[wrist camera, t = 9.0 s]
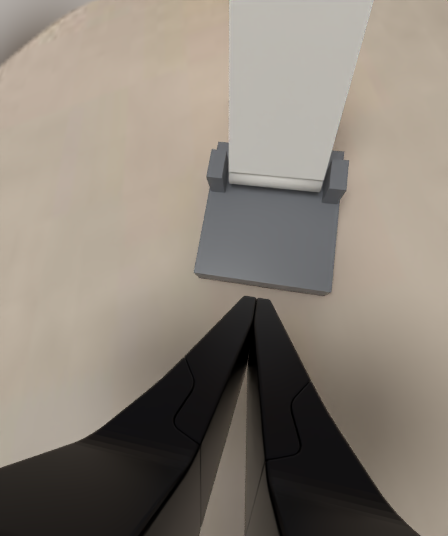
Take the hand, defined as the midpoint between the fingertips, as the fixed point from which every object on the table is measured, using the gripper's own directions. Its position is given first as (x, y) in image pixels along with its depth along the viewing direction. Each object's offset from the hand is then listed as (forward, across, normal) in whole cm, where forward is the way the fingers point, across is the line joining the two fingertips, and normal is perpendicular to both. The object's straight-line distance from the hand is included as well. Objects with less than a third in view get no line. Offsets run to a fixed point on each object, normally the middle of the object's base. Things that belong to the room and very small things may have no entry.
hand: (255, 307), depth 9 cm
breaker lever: (+12, 0, -1) cm, 12 cm away
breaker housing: (+13, 0, +3) cm, 13 cm away
